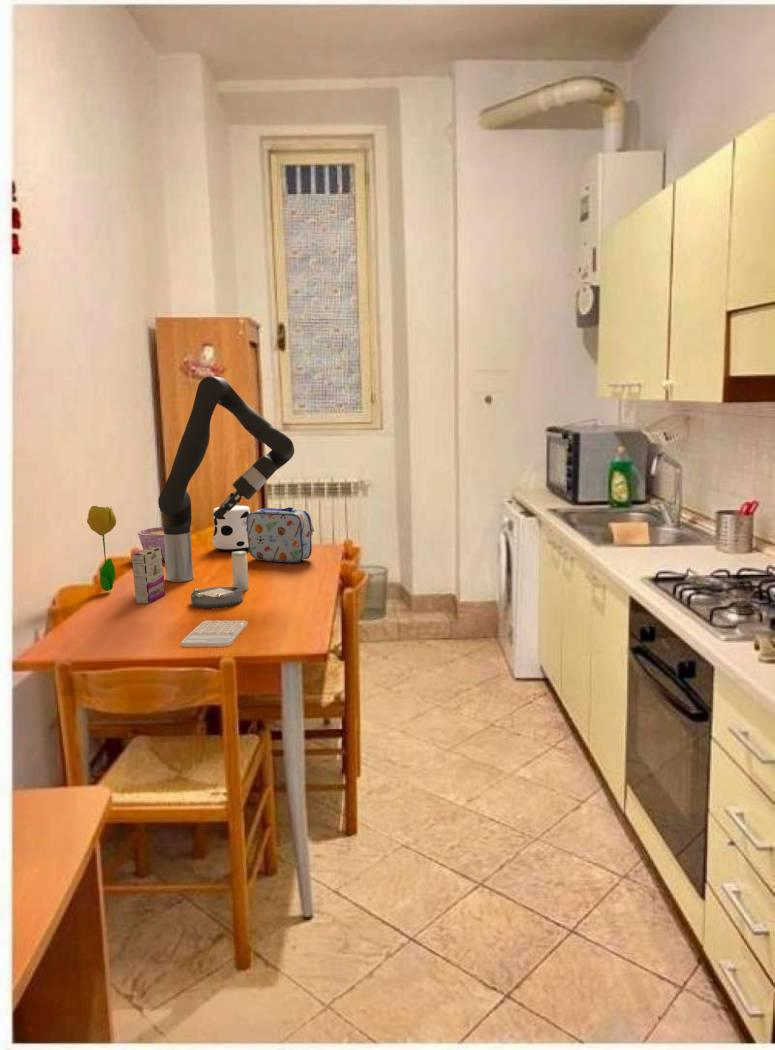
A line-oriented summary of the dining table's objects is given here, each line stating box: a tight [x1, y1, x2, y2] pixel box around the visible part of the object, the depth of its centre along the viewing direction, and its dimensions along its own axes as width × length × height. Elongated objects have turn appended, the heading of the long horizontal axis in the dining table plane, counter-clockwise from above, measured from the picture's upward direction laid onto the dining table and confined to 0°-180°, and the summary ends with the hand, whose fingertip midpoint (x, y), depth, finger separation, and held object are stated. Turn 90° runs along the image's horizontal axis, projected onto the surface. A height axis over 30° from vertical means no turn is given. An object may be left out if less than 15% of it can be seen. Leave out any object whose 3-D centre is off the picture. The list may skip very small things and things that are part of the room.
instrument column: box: [231, 550, 250, 592], centre depth 258 cm, size 5×5×13 cm
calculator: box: [180, 619, 248, 648], centre depth 210 cm, size 13×20×2 cm, turn 176°
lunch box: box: [246, 506, 315, 564], centre depth 302 cm, size 28×10×22 cm, turn 67°
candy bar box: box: [130, 547, 166, 605], centre depth 248 cm, size 11×5×16 cm, turn 168°
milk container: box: [212, 505, 251, 552], centre depth 328 cm, size 17×17×18 cm
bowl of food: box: [137, 526, 165, 559], centre depth 313 cm, size 20×20×12 cm
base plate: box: [190, 584, 243, 610], centre depth 243 cm, size 16×16×4 cm
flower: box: [86, 505, 117, 592], centre depth 257 cm, size 9×8×30 cm
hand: (215, 517), depth 256 cm, fingers open, 8 cm apart
